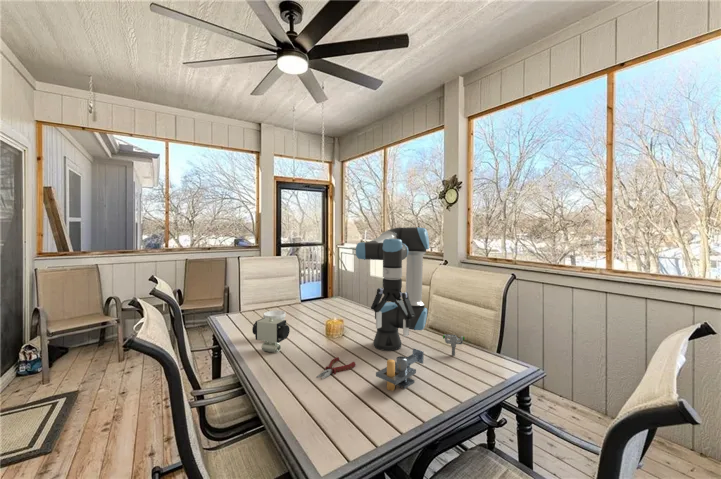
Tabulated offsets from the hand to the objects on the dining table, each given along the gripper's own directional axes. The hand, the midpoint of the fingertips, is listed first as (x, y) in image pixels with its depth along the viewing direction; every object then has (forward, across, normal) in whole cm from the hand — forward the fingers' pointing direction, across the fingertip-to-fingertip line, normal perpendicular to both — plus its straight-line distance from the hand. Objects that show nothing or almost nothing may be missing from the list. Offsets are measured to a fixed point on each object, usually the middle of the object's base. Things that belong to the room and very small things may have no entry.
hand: (391, 331), depth 123 cm
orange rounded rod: (+23, 0, 0) cm, 23 cm away
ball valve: (+23, -68, -14) cm, 73 cm away
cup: (+23, -82, -4) cm, 85 cm away
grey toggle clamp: (+23, 0, +8) cm, 24 cm away
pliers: (+24, -30, -5) cm, 38 cm away
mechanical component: (+23, +2, +48) cm, 53 cm away
